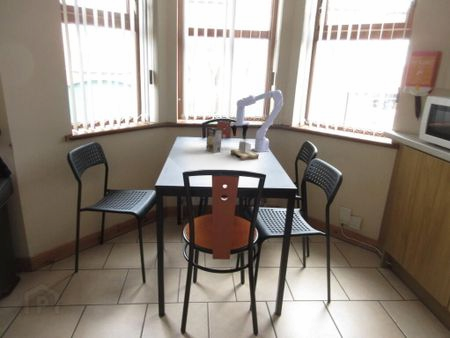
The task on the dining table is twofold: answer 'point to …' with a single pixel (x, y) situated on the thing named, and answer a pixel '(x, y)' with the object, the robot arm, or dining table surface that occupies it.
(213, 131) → the coffee box
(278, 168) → the dining table surface
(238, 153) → the stand
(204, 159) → the dining table surface
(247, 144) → the block
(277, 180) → the dining table surface
